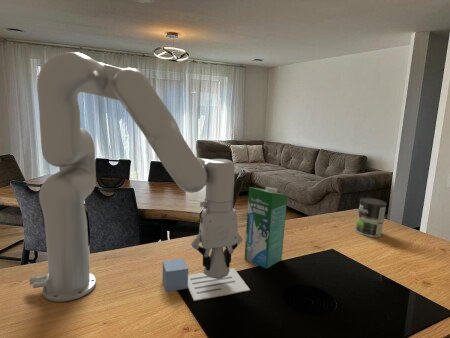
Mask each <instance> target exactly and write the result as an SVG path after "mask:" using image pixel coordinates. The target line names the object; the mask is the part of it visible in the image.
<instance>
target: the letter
mask: <svg viewBox="0 0 450 338" xmlns="http://www.w3.org/2000/svg"><path fill="white" fill-rule="evenodd" d="M229 270H230V271H229V273H228V276H226V277H223V278H221V279H216V278H210V277H208V276H207V275H205V274H204V273H203V272H200V273H198V272H197V273H191V274H188V288H187V289H188V291H189V294H190V295H191V299H193V302H196V301H201V300H209V299H213V298H217V297H218V298H219V297H223V296H228V295H234V294H238V293H243V292H249V291H251V289H250V288H249V286H248V285H247V284H246V282H245V281H244V279H243V278H242V277H241V275H240V274H239V273H238V272H237V270H236V269H235V268H234V267H231V268H230V267H229Z"/></svg>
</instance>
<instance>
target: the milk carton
mask: <svg viewBox="0 0 450 338" xmlns="http://www.w3.org/2000/svg"><path fill="white" fill-rule="evenodd" d="M278 190H279V189H278V188H275V187H271V186H270V187H269V186H265V188H258V187H251V186H249V187H248V200H247V213H246V226H245V227H246V230H245V244H244V245H245V246H244V259H245V260H246V261H248V262H250V263H253V264H255V265H257V266H259V267H261V268H263V269H266V270H267V269H268V268H270V267H272V266H273V265H275V264H277V263H278V262H280V261H282V260H283V259H282V258H283V249H284V247H283V245H284V238H285V225H286V215H287V214H286V213H287V204H288V195H287V194H283V193H279V192H278Z"/></svg>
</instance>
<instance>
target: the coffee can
mask: <svg viewBox="0 0 450 338" xmlns="http://www.w3.org/2000/svg"><path fill="white" fill-rule="evenodd" d="M386 207H387V202H386V201H384V200H382V199H378V198H373V197H361V198H359V205H358V213H357V219H356V227H355V231H356V233H358V234H360V235H362V236H366V237H370V238H379V237H380V238H381V236H382V233H383V227H384V220H385V214H386V209H387V208H386Z"/></svg>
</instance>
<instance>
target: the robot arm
mask: <svg viewBox="0 0 450 338" xmlns="http://www.w3.org/2000/svg"><path fill="white" fill-rule="evenodd" d="M36 83H37V84H36V92H37V100H38V110H39V112H38V113H39V130H40V147H41V148H40V149H41V153H42V156H43V159H44V160H45V161H46V162H47V163H48V164H49V165H51V166H53V167H57V168H58V169H59V171H58V172H56V173H53V174H52V175H50V176H49V177H47V178H46V179H45V180H44V182H43V183H42V184H41V187H40V188H39V191H38V192H39V194H38V195H39V197H38V198H39V204H40V207H41V210H42V215H43V219H44V220H43V221H44V229H45V242H46V253H47V255H46V256H47V266H48V267H47V269H48V271H47V272H48V273H44V275H35V276H30V278H29V285H30V286H32V289H39V288H42V296H43V297H44V298H45V299H46V300H48V301H50V302H54V303H55V302H57V303H61V302H63V303H64V302H70V301H73V300H77V299H80V298H82V297H84V296H86V295H88V294H89V293H91V292H92V291H93V290H94V289H95V287H96V285H97V278H96V276H95V275H94V274H92V273H91V272H90V256H89V255H90V253H89V235H88V234H89V233H88V219H87V213H86V209H85V200H86V199H87V198H89V196H90V195H91V194H92V193H93V191H94V189H95V187H96V183H97V172H96V151H95V150H96V149H95V143H94V140H93V137H92V135H91V134H90V133H89V131H87V130H86V129H85V128H83V127H81V112H80V105H79V101H78V95H79V94H80V93H85V94H90V95H96V96H100V97H103V98H108V99H111V100H116V101H118V102H120V103H121V105H122V106H123V107H124V109H125V111H126V112H127V113H128V114H129V116H130V118H131V119H132V120H133V122H134V123H135V124H136V126H137V127H138V129H139V130H140V131H141V132H142V134H143V135H144V137H145V138H146V141H147V143H148V144H149V146H150V147H151V149H152V150H153V152H154V153H155V155H156V156H157V158H158V160H159V161H160V163H161V164H162V166H163V167H164V169H165V171H166V172H167V173H168V174H169V176H170V177H171V178H172V180H173V182H174V183H176V185H177V186H178V187H179V189H180V190H182V191H184V192H185V193H190V194H191V193H194V194H195V193H198V192H200V191H201V190H202V189H203V188H204V187H205V198H204V201H200V203H199V205H200V208H203V209H202V212H201V216H200V220H199V221H200V222H199V230H198V235H197V236H196V237H195V238H194V239H193V241H192V242H191V244H190V245H191V247H192V248H193V249H194V250H196V251H198V252H199V254H201V255H202V266H203V267H204V269H205V268H206V270H207V271H208V270H210V253H211V252H210V251H211V250H212V248H220V247H223V248H225V249H223V252H224V256H225V259H226V264H227V267H229V268H230V266H231V263H232V254H233V253H234V251H235V249H237V247H238V246H239V245H240V244H241V243H242V242H243V240H244V238H243V237H241V235H240V234H239V229H238V216H237V210H236V209H235V208H234V194H235V193H234V191H235V189H234V188H235V176H236V175H235V172H236V171H235V169H236V165H235V162H233V161H232V160H230V159H226V158H225V159H224V158H214V159H213V158H212V159H209V158H202V157H196V155H195V154H194V152H193V151H192V149H191V148H190V146H189V145H188V143H187V141H186V140H185V138H184V136H183V135H182V132H181V130H180V128H179V126H178V123H177V121H176V119H175V118H174V116H173V115H172V113H171V112H170V110H169V109H168V107H167V106H166V104H165V103H164V102H163V100H162V98H161V96H159V94H158V92H157V91H156V90H155V89H154V87H153V86H152V83H151V80H150V79H149V77H148V76H146V75H145V74H144V73H143V72H142V71H140V70H139V69H137V68H133V67H126V68H121V67H118V66H114V65H111V64H106V63H103V62H99V61H97V60H95V59H94V58H92V57H90V56H88V55H86V54H84V53H81V52H77V51H67V52H61V53H58V54H56V55H54V56H53V57H51V58H50V59H48V60H47V61H46V62H45V63H44V64H43V65H42V67H41V69H40V70H39V73H38V77H37V82H36ZM200 243H201V245H200Z"/></svg>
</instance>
